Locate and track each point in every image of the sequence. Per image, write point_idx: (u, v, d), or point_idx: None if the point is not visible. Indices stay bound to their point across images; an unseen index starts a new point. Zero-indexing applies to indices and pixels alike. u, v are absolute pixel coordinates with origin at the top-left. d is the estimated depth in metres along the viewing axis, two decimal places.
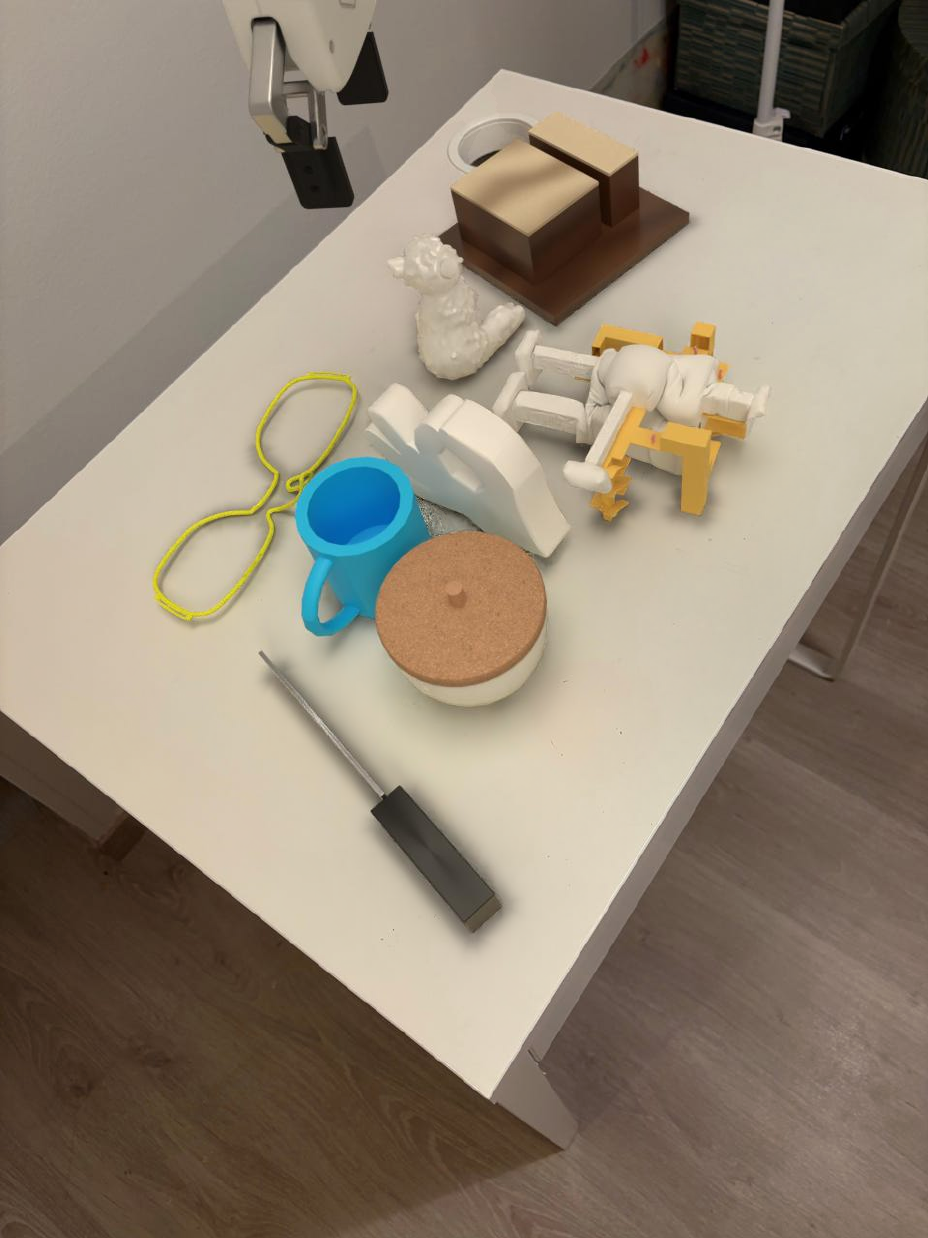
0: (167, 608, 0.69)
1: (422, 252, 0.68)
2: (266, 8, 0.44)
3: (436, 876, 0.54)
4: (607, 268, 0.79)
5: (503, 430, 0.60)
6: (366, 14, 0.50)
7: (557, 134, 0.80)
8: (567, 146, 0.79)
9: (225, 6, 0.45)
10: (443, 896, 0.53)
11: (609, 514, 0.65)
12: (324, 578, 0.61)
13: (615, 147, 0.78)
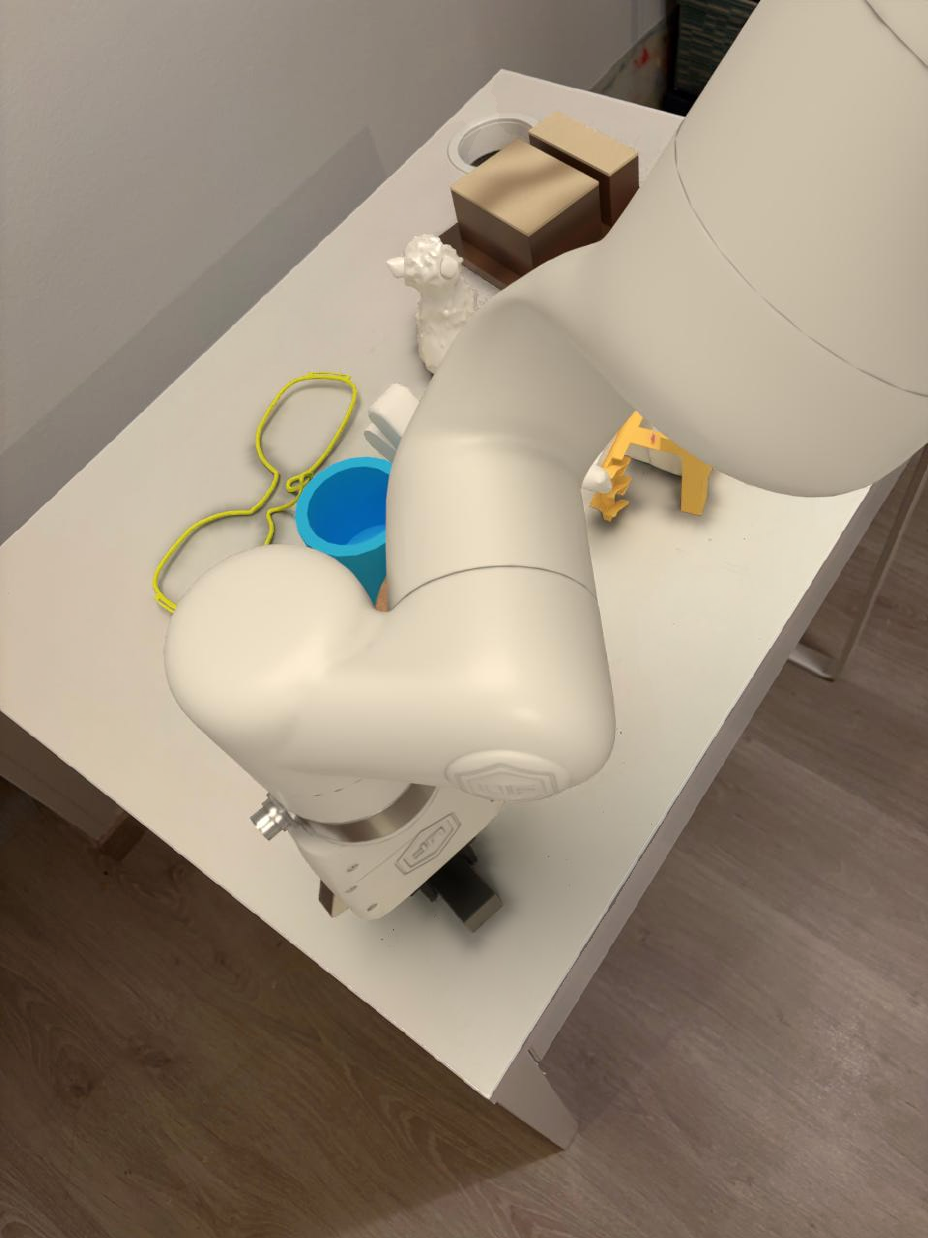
0: (167, 608, 0.69)
1: (422, 252, 0.68)
2: None
3: (436, 876, 0.54)
4: None
5: None
6: (462, 842, 0.49)
7: (557, 134, 0.80)
8: (567, 146, 0.79)
9: None
10: (443, 896, 0.53)
11: (609, 514, 0.65)
12: None
13: (615, 147, 0.78)
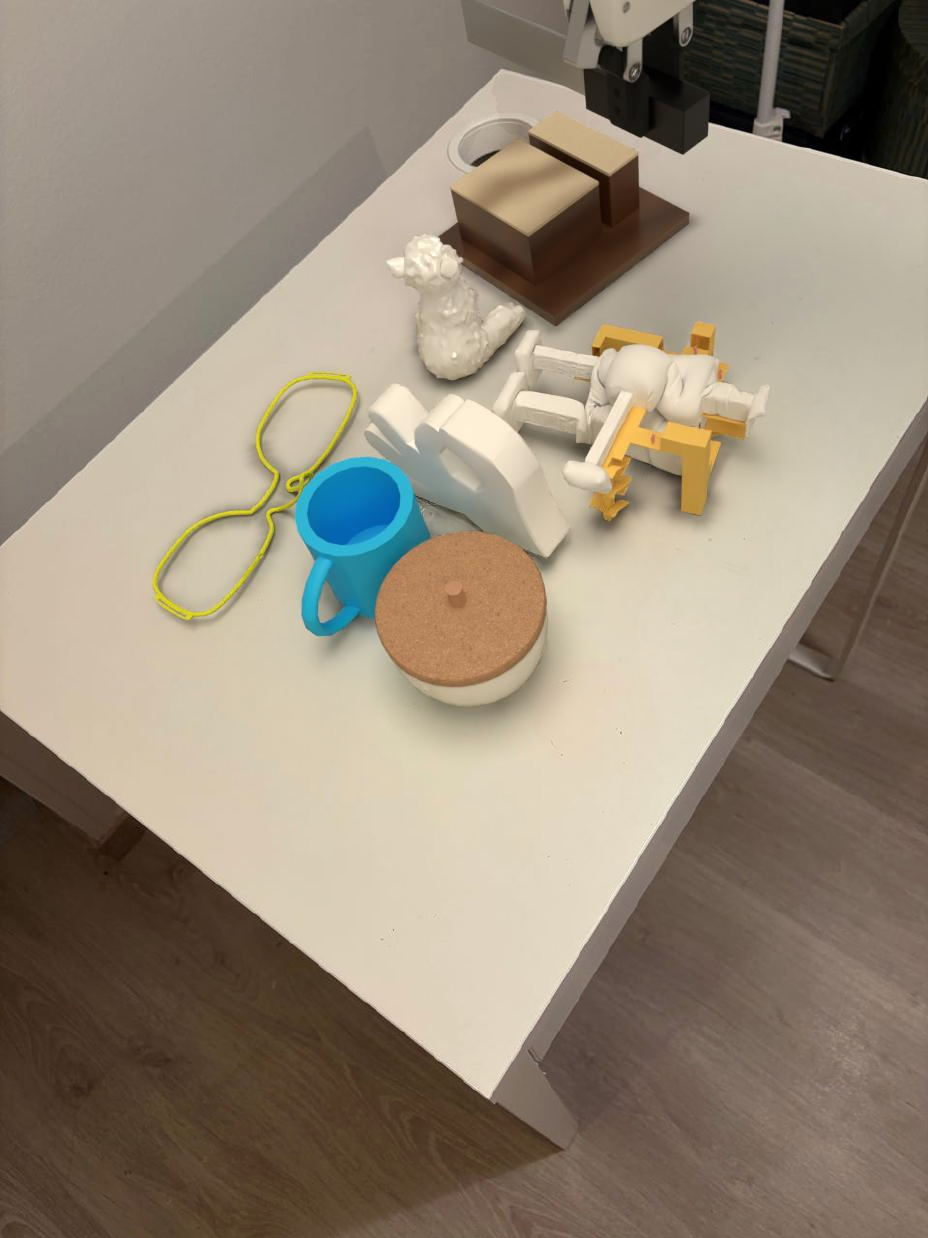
0: (167, 608, 0.69)
1: (422, 252, 0.68)
2: None
3: (653, 91, 0.59)
4: (607, 268, 0.79)
5: (503, 430, 0.60)
6: None
7: (557, 134, 0.80)
8: (567, 146, 0.79)
9: None
10: (661, 100, 0.59)
11: (609, 514, 0.65)
12: (324, 578, 0.61)
13: (615, 147, 0.78)
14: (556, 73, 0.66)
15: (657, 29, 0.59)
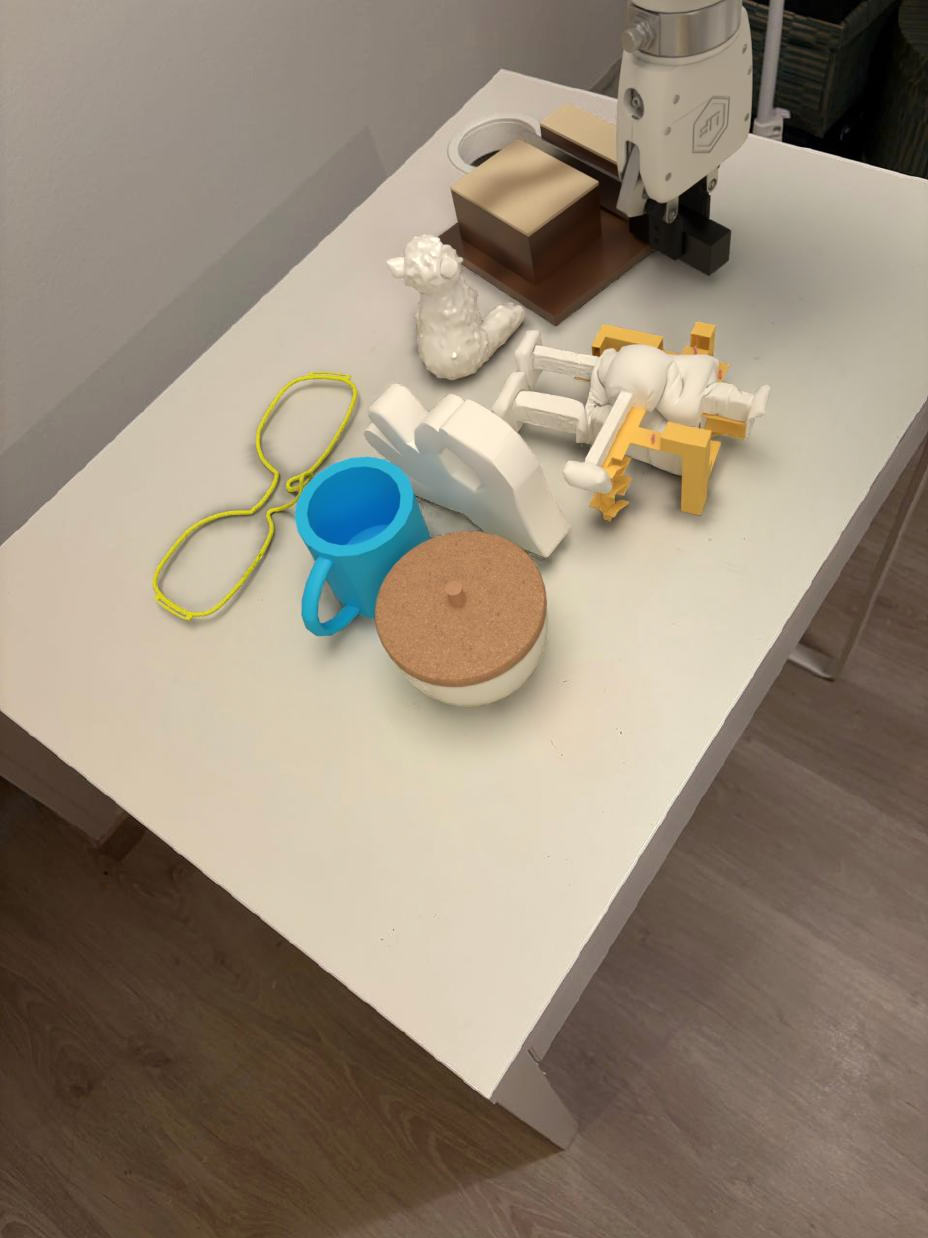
0: (167, 608, 0.69)
1: (422, 252, 0.68)
2: (635, 139, 0.66)
3: (686, 226, 0.74)
4: (607, 268, 0.79)
5: (503, 430, 0.60)
6: (722, 155, 0.69)
7: (568, 125, 0.81)
8: (579, 137, 0.80)
9: (616, 124, 0.67)
10: (693, 235, 0.74)
11: (609, 514, 0.65)
12: (324, 578, 0.61)
13: None
14: (604, 200, 0.81)
15: None
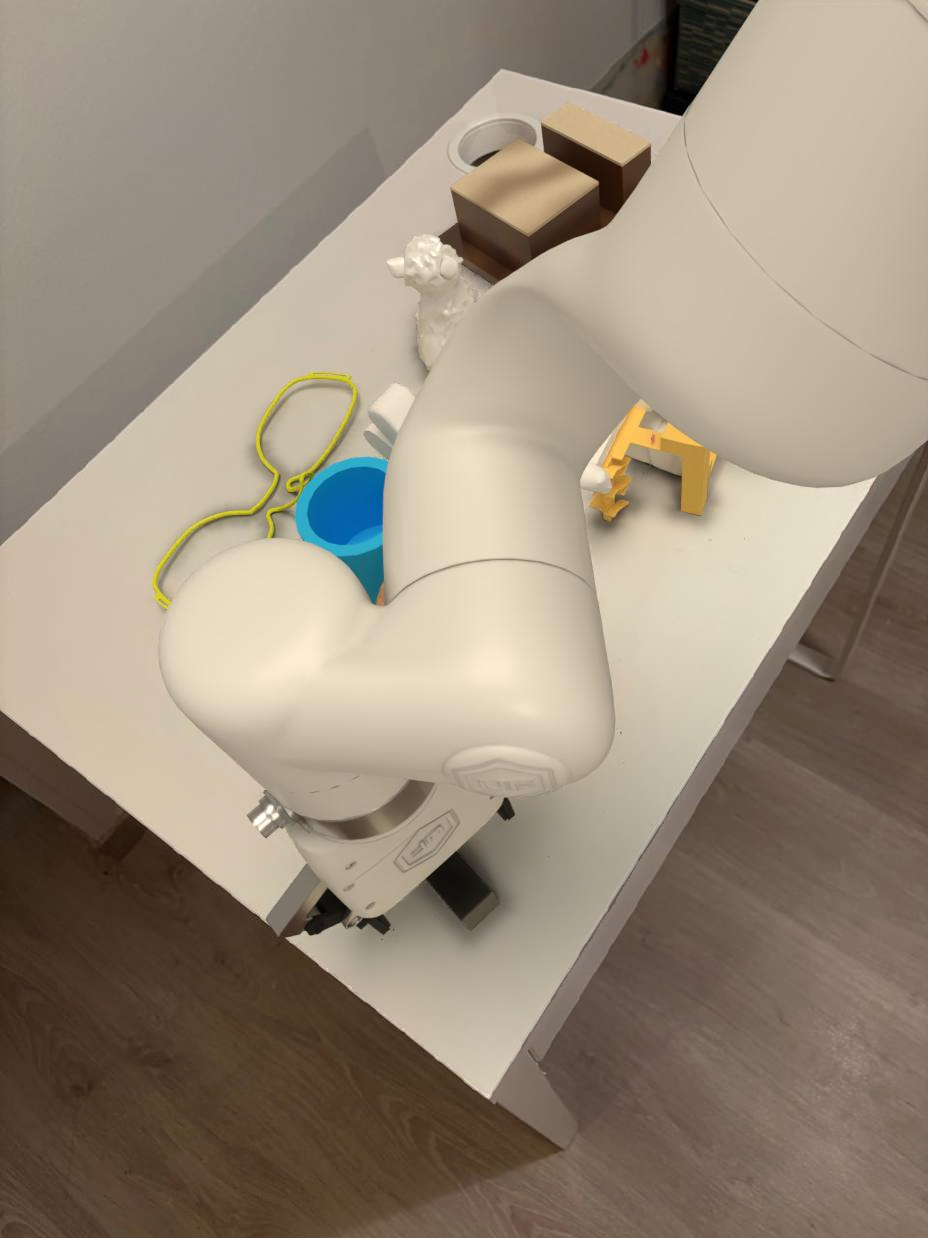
0: (167, 608, 0.69)
1: (422, 252, 0.68)
2: None
3: (434, 875, 0.54)
4: None
5: None
6: (462, 840, 0.49)
7: (569, 125, 0.81)
8: (579, 137, 0.80)
9: None
10: (440, 894, 0.53)
11: (609, 514, 0.65)
12: None
13: (627, 138, 0.78)
14: None
15: None
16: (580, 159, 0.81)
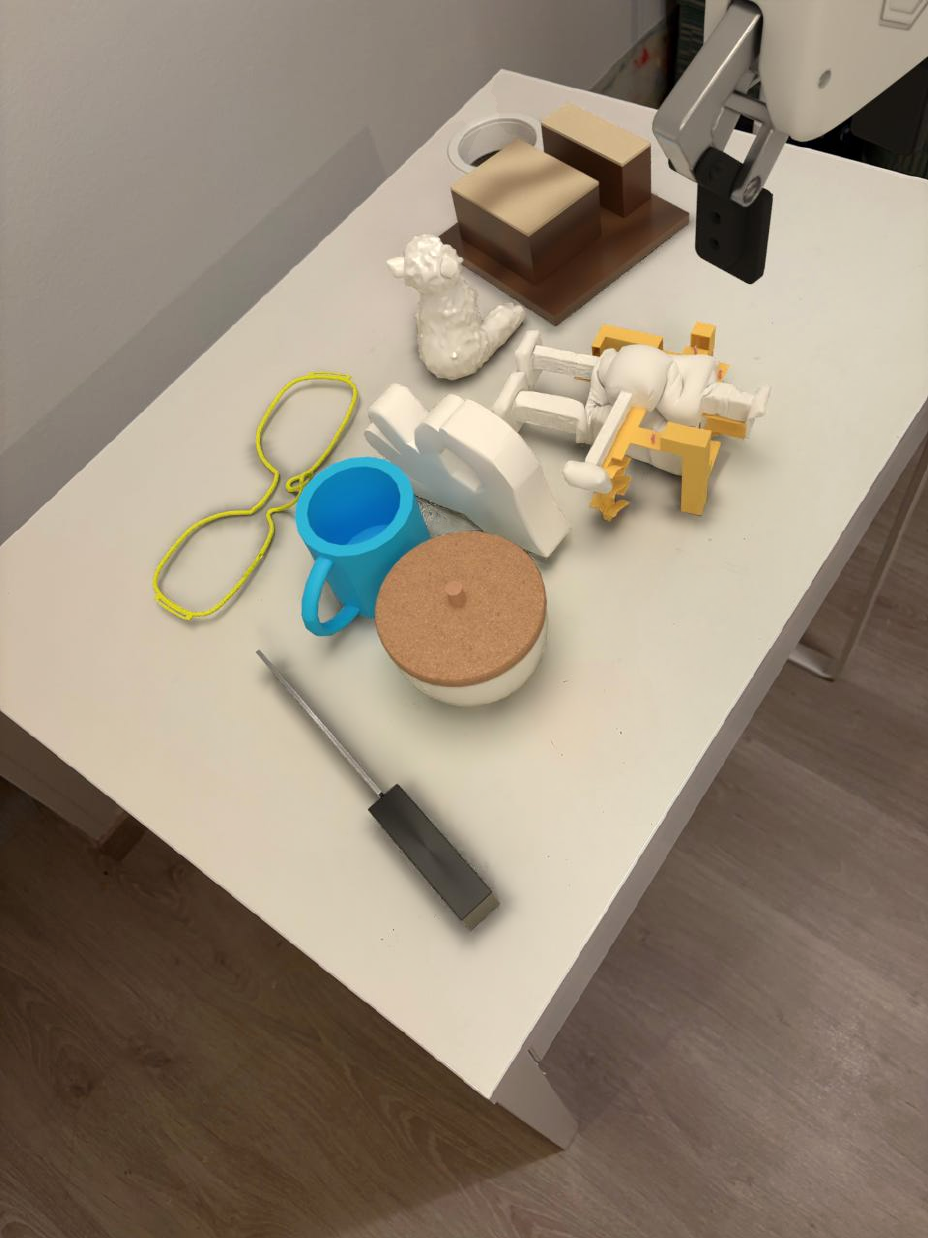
0: (167, 608, 0.69)
1: (422, 252, 0.68)
2: None
3: (434, 875, 0.54)
4: (607, 268, 0.79)
5: (503, 430, 0.60)
6: None
7: (569, 125, 0.81)
8: (579, 137, 0.80)
9: None
10: (440, 894, 0.53)
11: (609, 514, 0.65)
12: (324, 578, 0.61)
13: (627, 138, 0.78)
14: (353, 767, 0.61)
15: None
16: (580, 159, 0.81)
